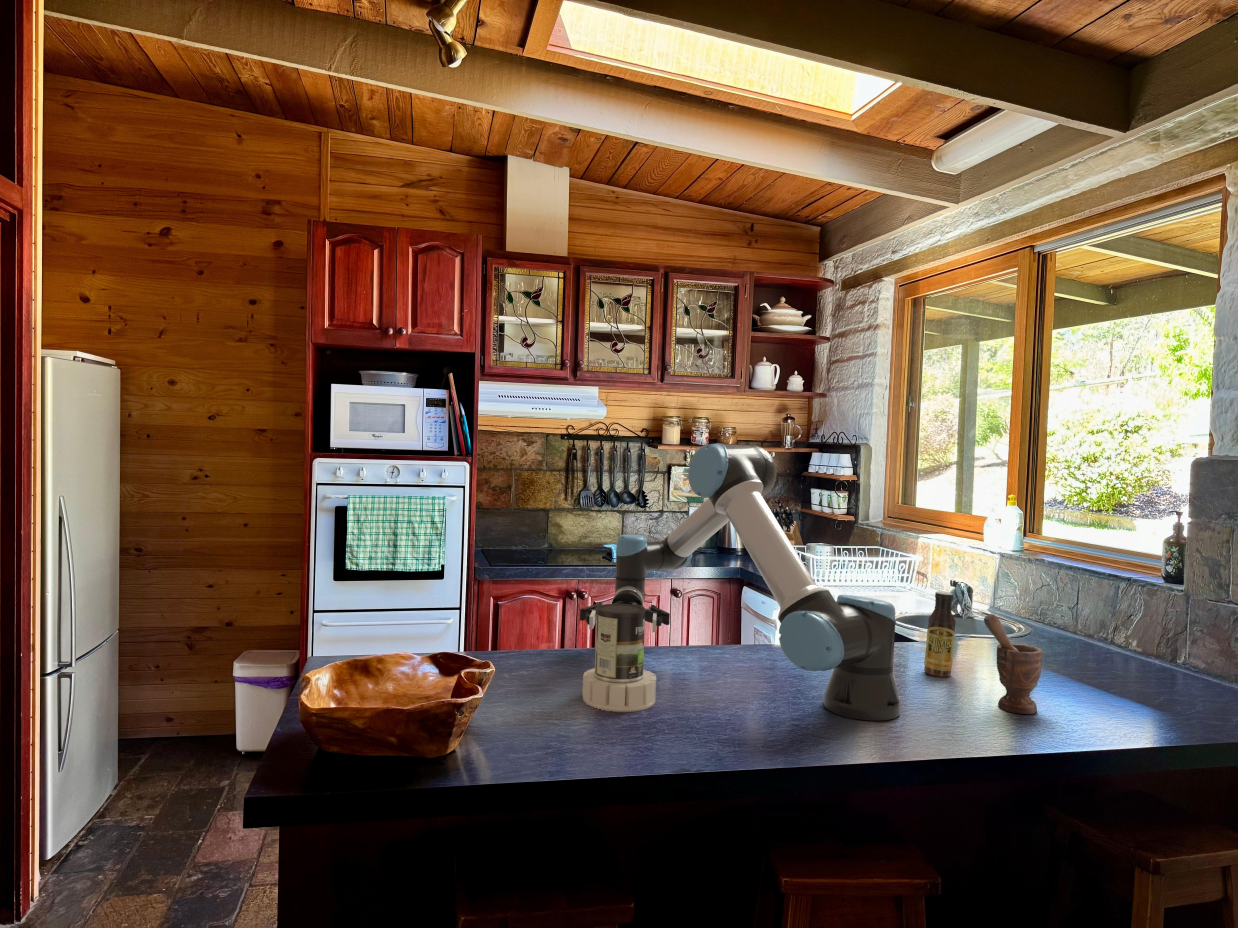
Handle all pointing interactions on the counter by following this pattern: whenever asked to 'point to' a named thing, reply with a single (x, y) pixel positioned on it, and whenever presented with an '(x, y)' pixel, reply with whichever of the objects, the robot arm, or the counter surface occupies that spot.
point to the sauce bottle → (940, 637)
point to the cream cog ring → (619, 693)
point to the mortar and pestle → (1015, 670)
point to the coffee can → (619, 642)
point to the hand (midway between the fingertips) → (622, 624)
